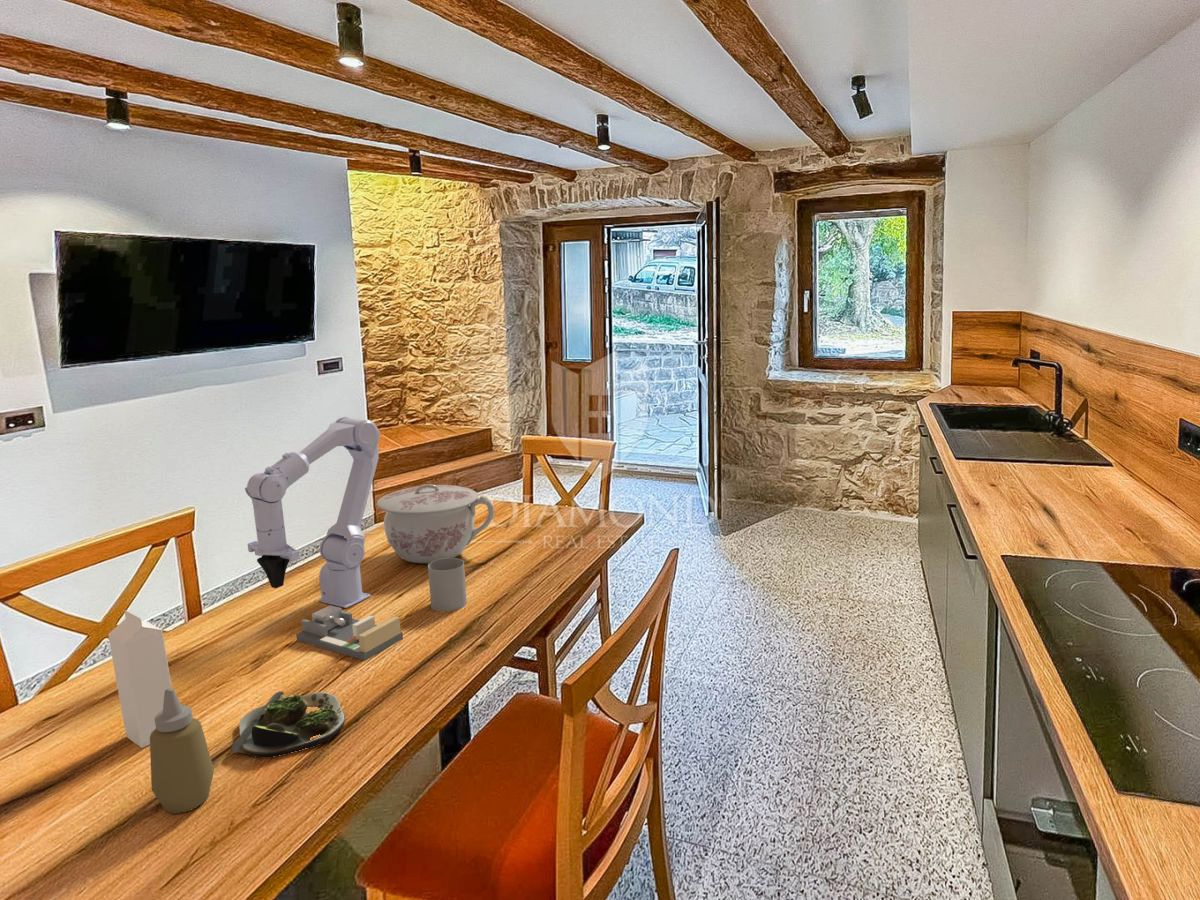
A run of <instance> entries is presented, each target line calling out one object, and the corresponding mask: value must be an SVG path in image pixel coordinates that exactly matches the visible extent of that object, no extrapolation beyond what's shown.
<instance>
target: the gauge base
mask: <svg viewBox="0 0 1200 900" xmlns="http://www.w3.org/2000/svg"><path fill="white" fill-rule="evenodd" d="M342 619H344V620H345V621H346V623H345V625H344V626H341V625H338V626H336V627H334V628H332V629H330V630H328V629H327V625H324V624H320V623H317V622H313V620H310V619H306V618H304V619H302V620H301V627H302V628H301V629H302V631H299V632H297V633H296V634H295V637H296V641H297V642H301V643H304V644H307V645H311V646H314V647H317V648H321V649H324V650H328V651H332V652H334V653H338V654H340V655H341V654H342V655H345V656H348V657H351V658H354V659H358V660H361V661H363V662H365V661H366V660H368V659H370V658H372V657H373V656H374V655H377V654H379V653H381V652H382V651H384V650H386V649H387V648H389V647H390V646H393V645H394V644H396V643H397V641H398V642H399V641H401V640H403V639H404V637H403V634H404V633H403V631H401V621H400V617H398V616H394V615H393V616H391V617H390V618H388V619H386V620H385V621H383V622H381V623H379V624H375V627H373V628H371V629H369V630H367V631H366V632H364V633H362V634H360V635H359V639H356V640H354V641H352V642H350V643H347V640H349V639H351V638H353V628H352V625H353V624H355V623H357V622H358V621H360V620H358V619H355V618H353V613H352V612H349V611H345V610H342ZM395 642H396V643H395ZM385 648H386V649H385ZM378 652H379V653H378Z"/></svg>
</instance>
